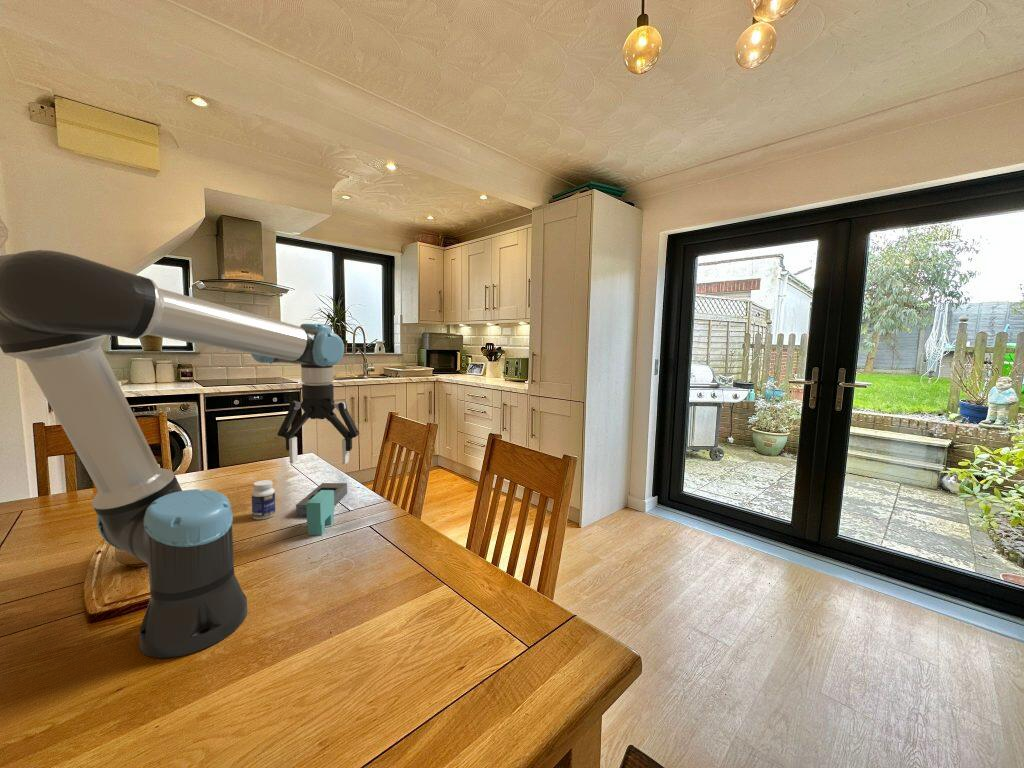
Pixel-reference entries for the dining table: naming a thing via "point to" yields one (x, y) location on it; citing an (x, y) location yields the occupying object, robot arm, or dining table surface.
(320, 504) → the clip
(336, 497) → the rail
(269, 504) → the pill bottle
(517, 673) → the dining table surface
